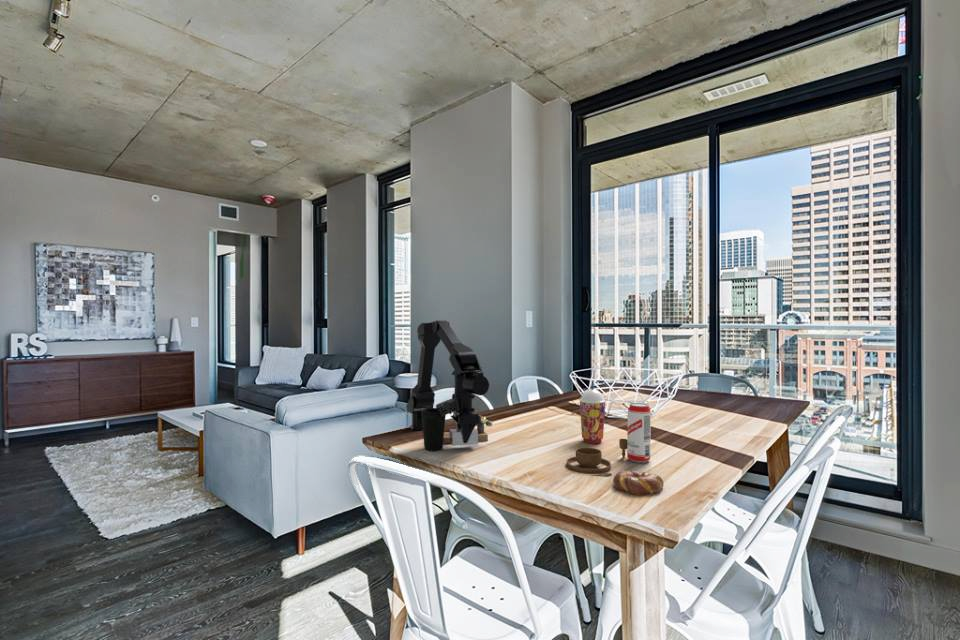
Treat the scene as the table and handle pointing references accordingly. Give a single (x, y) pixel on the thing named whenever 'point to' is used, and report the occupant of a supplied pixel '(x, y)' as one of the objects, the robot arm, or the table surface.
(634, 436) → the beer can
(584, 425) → the smoothie
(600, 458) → the place setting
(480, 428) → the plane body
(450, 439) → the grey block
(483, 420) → the lever
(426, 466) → the table surface
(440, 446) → the cup
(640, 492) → the pretzel
